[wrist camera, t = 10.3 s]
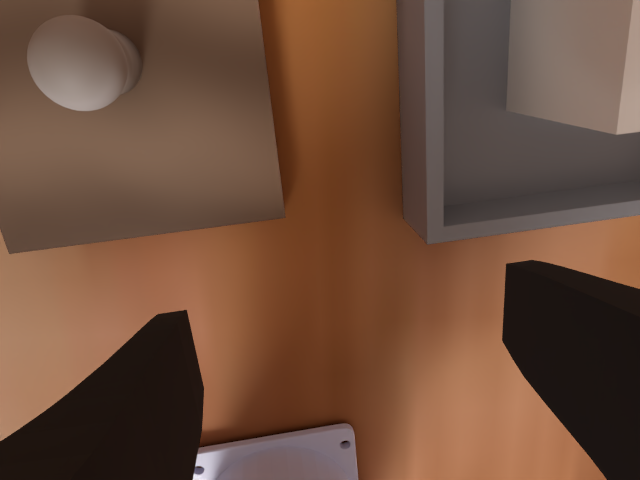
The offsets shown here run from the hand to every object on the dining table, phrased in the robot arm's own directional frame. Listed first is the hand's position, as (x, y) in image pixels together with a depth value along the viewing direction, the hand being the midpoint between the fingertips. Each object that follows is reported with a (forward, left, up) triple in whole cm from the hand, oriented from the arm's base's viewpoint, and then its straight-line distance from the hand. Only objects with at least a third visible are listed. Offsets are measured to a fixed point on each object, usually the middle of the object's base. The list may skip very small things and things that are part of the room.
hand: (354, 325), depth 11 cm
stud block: (+6, +6, -9) cm, 13 cm away
